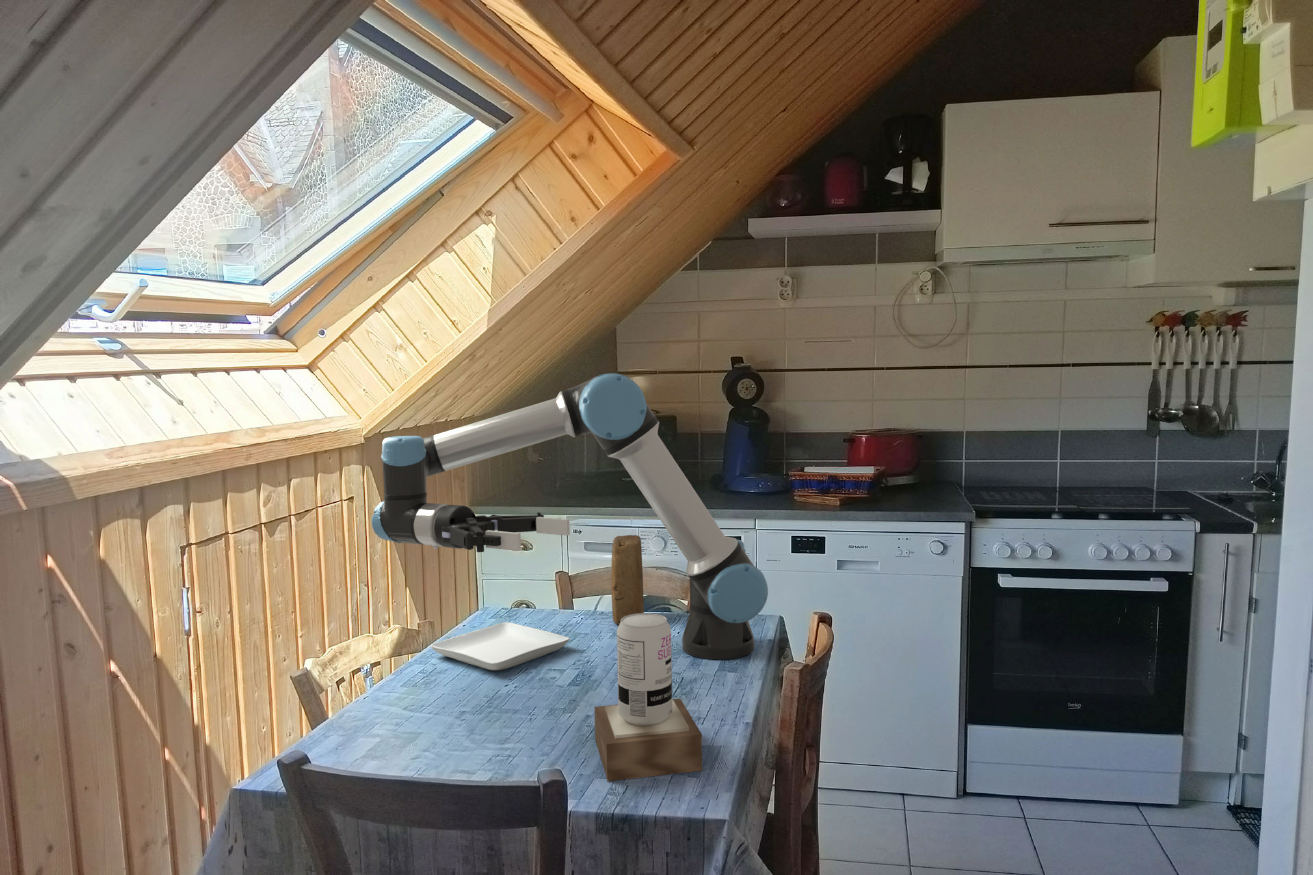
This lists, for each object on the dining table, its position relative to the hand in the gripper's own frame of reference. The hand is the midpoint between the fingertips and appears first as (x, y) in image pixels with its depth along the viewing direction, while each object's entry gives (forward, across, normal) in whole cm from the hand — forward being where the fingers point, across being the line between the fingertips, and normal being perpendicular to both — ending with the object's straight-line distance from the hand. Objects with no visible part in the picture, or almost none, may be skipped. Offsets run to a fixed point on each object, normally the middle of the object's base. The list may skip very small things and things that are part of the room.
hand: (545, 534), depth 141 cm
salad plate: (-30, -24, -33) cm, 51 cm away
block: (-18, -57, -32) cm, 68 cm away
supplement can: (+20, +4, -26) cm, 33 cm away
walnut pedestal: (+20, +4, -32) cm, 38 cm away
